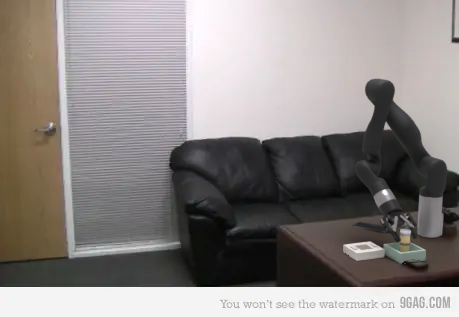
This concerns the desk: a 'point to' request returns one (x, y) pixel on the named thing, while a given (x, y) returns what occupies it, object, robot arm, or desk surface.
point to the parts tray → (399, 257)
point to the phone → (369, 227)
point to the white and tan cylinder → (404, 240)
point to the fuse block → (363, 251)
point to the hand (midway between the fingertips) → (407, 239)
